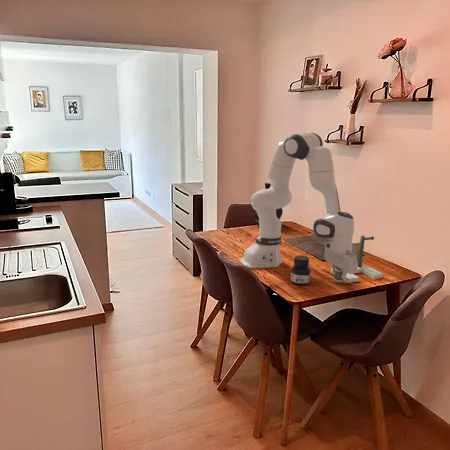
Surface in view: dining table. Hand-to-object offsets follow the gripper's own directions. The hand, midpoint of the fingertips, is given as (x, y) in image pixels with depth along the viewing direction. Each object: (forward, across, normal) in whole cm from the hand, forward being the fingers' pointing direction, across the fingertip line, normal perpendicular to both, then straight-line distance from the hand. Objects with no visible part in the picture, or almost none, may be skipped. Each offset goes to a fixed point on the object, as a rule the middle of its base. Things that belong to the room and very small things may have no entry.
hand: (338, 276), depth 193 cm
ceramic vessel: (+3, +104, -16) cm, 105 cm away
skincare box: (+3, +19, -22) cm, 29 cm away
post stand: (+3, +5, -15) cm, 16 cm away
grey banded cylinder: (+3, 0, 0) cm, 3 cm away
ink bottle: (+3, +6, +17) cm, 18 cm away
